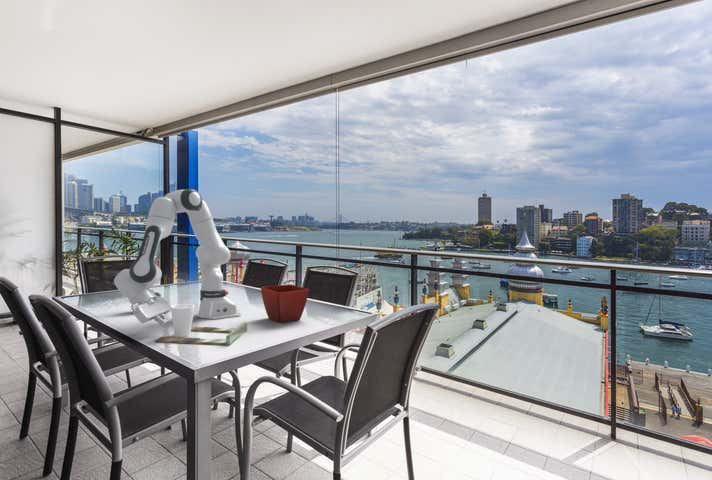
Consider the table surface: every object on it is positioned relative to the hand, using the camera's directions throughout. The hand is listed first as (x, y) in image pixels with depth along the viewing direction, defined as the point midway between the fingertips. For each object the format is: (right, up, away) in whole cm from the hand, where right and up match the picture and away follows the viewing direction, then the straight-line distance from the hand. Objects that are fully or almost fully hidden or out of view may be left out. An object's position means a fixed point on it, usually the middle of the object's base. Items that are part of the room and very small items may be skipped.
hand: (165, 323), depth 166 cm
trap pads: (+16, -5, 0) cm, 16 cm away
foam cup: (+8, -5, 0) cm, 9 cm away
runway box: (+17, -5, 0) cm, 17 cm away
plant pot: (+46, -6, +35) cm, 58 cm away
